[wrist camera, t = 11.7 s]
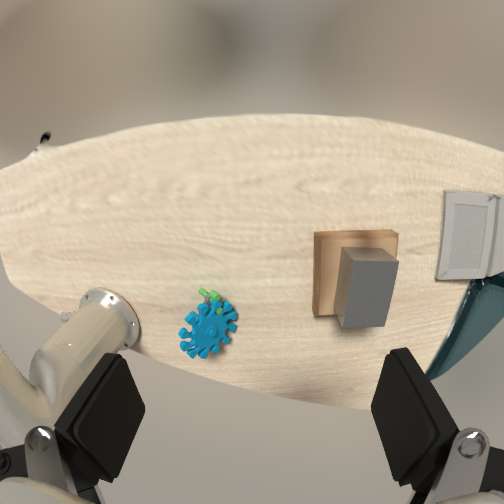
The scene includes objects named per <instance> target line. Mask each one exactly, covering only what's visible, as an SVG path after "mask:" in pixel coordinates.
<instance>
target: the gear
mask: <svg viewBox="0 0 504 504" xmlns="http://www.w3.org/2000/svg"><path fill="white" fill-rule="evenodd" d="M199 293H201V294H202V295H203V296H204V297H205V300H204V303H202V304H199V305H198V307H197V308H198V310H199V316H198V315H197V314H196V313H195V312H193V311H192V312H190V313H189V315H188V316H187V317H186V318H185V321H186V322H187V323H188V324H190V325H192V328H193V329H192V331H191V332H188V331H187V330H186V329H185V328H181V330H180V331H179V334H178V335H179V336H180V337H181V338H182V339H185V338H192V340H191V341H190V342H186V341H181V342H180V348H181V349H182V350H183V351H187V354H188V355H189V356H190V357H191V358H192V359H193V358H194V357H195V356H196V355H197V353H198V356H199V357H200V358H206V357H207V356H208V351H209V349H210V351H211V352H212V353H213V354H215V353H217V352H219V351H220V348H219V346H218V345H219V340H220V339H221V342H223V343H224V344H227V343H228V342H229V341H230V338H229V337H228V336H227V335H225V330H226V329H228V330H229V331H231V332H234V331H235V329H236V327H237V326H236V325H235V324H234V323H226V321H227V320H228V319H232V320H235V319H236V318H237V312H235V311H234V310H232V305H231V304H230V303H229V302H227V301H226V302H224V304H223V305H222V302H220V301H219V300H220V298H221V295H219V294H218V293H217V292H215V291H214V290H213V291H211V292H210V293H207V292H206V291H205V290H203V289H202V288H201V289H199ZM221 306H222V307H221ZM228 311H230V312H229V313H227V314H225V315H223V314H224V313H225V312H228ZM193 346H196V347H195V348H191V347H193ZM189 348H191V349H189ZM188 349H189V350H188Z"/></svg>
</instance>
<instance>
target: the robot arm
mask: <svg viewBox="0 0 504 504" xmlns="http://www.w3.org/2000/svg"><path fill="white" fill-rule="evenodd" d="M60 317H61V320H62V321H63V322H66V323H65V324H64V325H63V326H62V327H61V328H60V329H59V330H58V331H57V332H56V333H55V334H54V335H53V336H52V337H50V338H49V340H47V341H46V342H45V343H44V344H43V345H42V346H41V347H40V348H39V349H38V350H37V351H36V353H35V355H34V356H33V359H32V361H31V366H30V375H29V381H28V380H27V379H25V377H24V376H23V375H22V374H21V372H20V371H19V370H18V369H17V367H16V366H15V365H14V364H13V362H12V361H11V360H10V358H9V357H8V356H7V354H6V353H5V351H4V350H3V349H2V347H1V346H0V441H1V442H2V443H3V444H4V445H5V446H6V447H7V448H6V449H3V448H2V447H1V445H0V504H106V503H105V501H104V498H103V496H102V493H101V491H100V489H99V486H98V481H99V479H101V480H104V481H107V482H110V483H112V482H113V480H114V478H117V477H118V476H119V473H120V471H121V468H122V466H123V463H124V461H125V459H126V456H127V454H128V451H129V449H130V447H131V444H132V442H133V440H134V437H135V435H136V432H137V430H138V428H139V425H140V423H141V421H142V418H143V416H144V414H145V405H144V403H143V401H142V399H141V396H140V394H139V392H138V389H137V387H136V385H135V382H134V380H133V377H132V375H131V372H130V370H129V367H128V364H127V362H126V360H125V359H124V358H122V356H121V355H120V354H116V353H117V352H118V350H125V349H128V348H130V347H131V346H133V345H134V343H135V342H136V340H137V338H138V336H139V323H138V319H137V317H136V314H135V312H134V311H133V309H132V308H131V306H130V305H129V304H128V302H127V301H126V300H124V299H123V298H122V297H121V296H120V295H118V294H117V293H115V292H113V291H112V290H109V289H106V288H93V289H91V290H89V291H88V292H86V293H85V294H84V295H83V297H82V298H81V301H80V304H79V310H78V311H74V312H73V313H70V312H62V313H61V316H60ZM371 412H372V415H373V418H374V420H375V423H376V426H377V429H378V432H379V435H380V438H381V441H382V444H383V447H384V450H385V454H386V457H387V460H388V463H389V466H390V470H391V473H392V476H393V479H394V480H395V481H398V482H399V485H400V486H403V485H407V484H410V483H411V485H412V489H413V492H412V494H411V496H410V498H409V500H408V501H407V503H406V504H504V450H502V449H497V448H494V447H490V442H489V439H488V437H487V435H486V434H485V433H484V432H483V431H482V430H480V429H477V428H467V429H464V430H462V431H459V429H458V427H457V425H456V424H455V422H454V420H453V418H452V417H451V415H450V413H449V411H448V410H447V408H446V406H445V404H444V403H443V401H442V399H441V398H440V396H439V394H438V393H437V391H436V389H435V388H434V386H433V385H432V383H431V382H430V380H429V379H427V377H426V375H425V374H424V372H423V371H422V369H421V368H420V366H419V364H418V363H417V361H416V360H415V358H414V357H413V355H412V354H411V352H410V351H409V349H408V348H406V347H405V348H399V349H393V350H391V351H390V354H387V355H386V357H385V360H384V364H383V368H382V371H381V375H380V378H379V381H378V385H377V388H376V391H375V394H374V397H373V400H372V403H371Z"/></svg>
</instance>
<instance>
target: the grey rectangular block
mask: <svg viewBox="0 0 504 504" xmlns="http://www.w3.org/2000/svg"><path fill="white" fill-rule="evenodd" d="M398 264H399V261H398V260H397V259H395V258H394V257H393V256H392V255H390V254H389V253H388V252H386V251H385V250H384V249H383V248H368V247H343V246H342V247H341V256H340V264H339V272H338V279H337V286H336V293H335V299H334V306H333V308H334V310H335V313H336V315H337V317H338V320H339V322H340V324H341V327H342V328H363V327H383V326H385V322H386V318H387V314H388V310H389V306H390V302H391V298H392V294H393V289H394V285H395V280H396V275H397V270H398Z"/></svg>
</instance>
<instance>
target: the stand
mask: <svg viewBox="0 0 504 504" xmlns="http://www.w3.org/2000/svg"><path fill="white" fill-rule="evenodd" d="M342 246H343V247H368V248H383V249H384V250H385V251H386V252H388V253H389V254H390V255H392V256H393V257H394V258H395V259H396V256H397V246H398V233H396V232H395V231H393V230H356V231H322V232H314V267H313V301H312V310H313V313H314V316H315V317H316V316H330V315H336V313H335V310H334V308H333V306H334V299H335V293H336V286H337V279H338V272H339V264H340V256H341V247H342ZM389 307H390V306H389Z"/></svg>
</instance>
